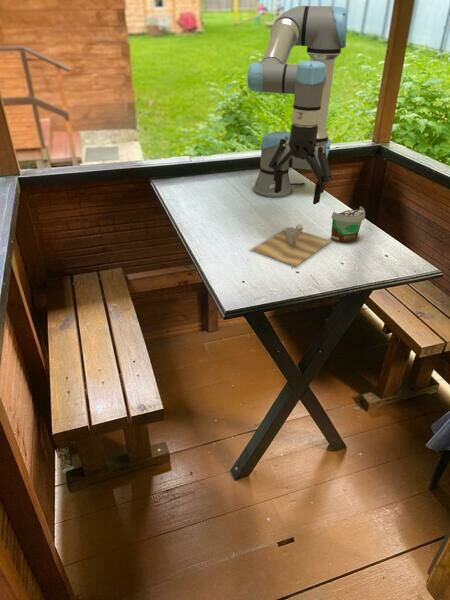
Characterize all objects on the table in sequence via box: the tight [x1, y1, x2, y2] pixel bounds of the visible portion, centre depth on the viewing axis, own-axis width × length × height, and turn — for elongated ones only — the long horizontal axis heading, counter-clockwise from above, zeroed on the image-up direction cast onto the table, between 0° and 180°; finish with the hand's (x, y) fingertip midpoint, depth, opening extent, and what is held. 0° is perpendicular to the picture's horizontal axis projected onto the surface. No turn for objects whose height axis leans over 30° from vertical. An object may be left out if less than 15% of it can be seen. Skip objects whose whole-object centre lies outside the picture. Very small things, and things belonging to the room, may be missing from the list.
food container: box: [330, 206, 366, 244], centre depth 145 cm, size 12×6×10 cm, turn 117°
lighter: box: [285, 224, 304, 246], centre depth 141 cm, size 7×2×8 cm, turn 23°
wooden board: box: [251, 228, 331, 268], centre depth 143 cm, size 22×16×1 cm
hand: (296, 197), depth 135 cm, fingers open, 13 cm apart
